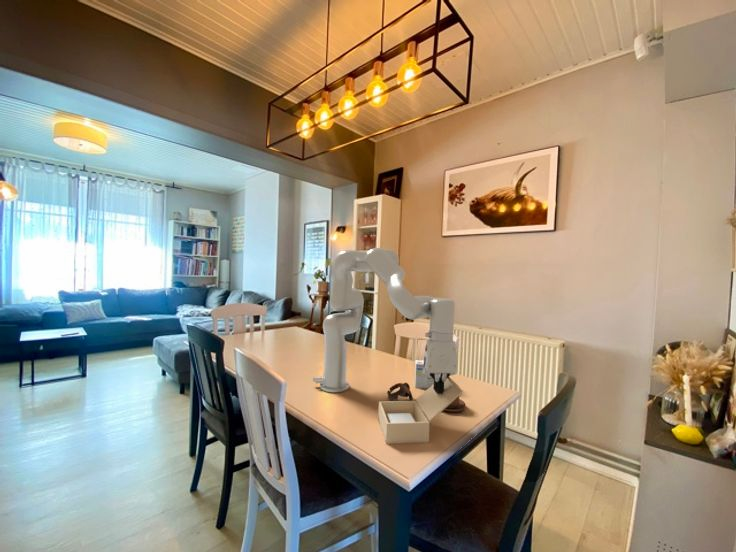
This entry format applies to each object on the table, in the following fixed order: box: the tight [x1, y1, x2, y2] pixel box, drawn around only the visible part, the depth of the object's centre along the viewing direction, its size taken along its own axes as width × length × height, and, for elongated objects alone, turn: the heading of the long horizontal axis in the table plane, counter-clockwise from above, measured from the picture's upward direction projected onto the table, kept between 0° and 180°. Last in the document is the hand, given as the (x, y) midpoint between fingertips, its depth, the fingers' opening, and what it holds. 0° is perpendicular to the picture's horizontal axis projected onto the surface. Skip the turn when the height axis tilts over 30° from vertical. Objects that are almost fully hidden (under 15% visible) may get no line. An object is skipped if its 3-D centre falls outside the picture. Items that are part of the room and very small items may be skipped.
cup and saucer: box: [443, 395, 466, 413], centre depth 117 cm, size 12×12×6 cm
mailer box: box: [377, 400, 431, 445], centre depth 99 cm, size 13×15×6 cm
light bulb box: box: [414, 359, 440, 389], centre depth 137 cm, size 11×7×11 cm, turn 84°
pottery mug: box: [386, 382, 414, 401], centre depth 120 cm, size 12×10×8 cm
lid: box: [415, 376, 464, 423], centre depth 100 cm, size 14×15×3 cm
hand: (438, 392), depth 100 cm, fingers closed
